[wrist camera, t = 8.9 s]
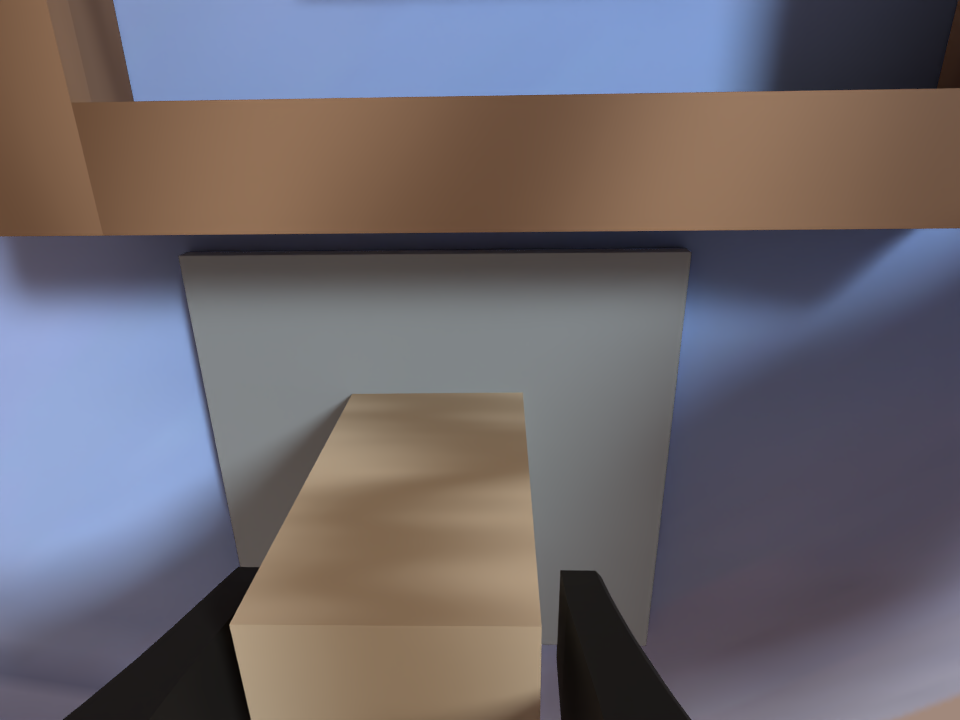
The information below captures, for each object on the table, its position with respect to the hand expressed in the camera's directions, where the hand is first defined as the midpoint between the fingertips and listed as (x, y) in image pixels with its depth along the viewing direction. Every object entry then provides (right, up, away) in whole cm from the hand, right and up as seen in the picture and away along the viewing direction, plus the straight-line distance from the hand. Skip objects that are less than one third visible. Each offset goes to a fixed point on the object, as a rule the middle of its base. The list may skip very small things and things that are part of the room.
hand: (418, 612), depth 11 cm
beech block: (0, +2, +4) cm, 5 cm away
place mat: (0, +2, +5) cm, 5 cm away
